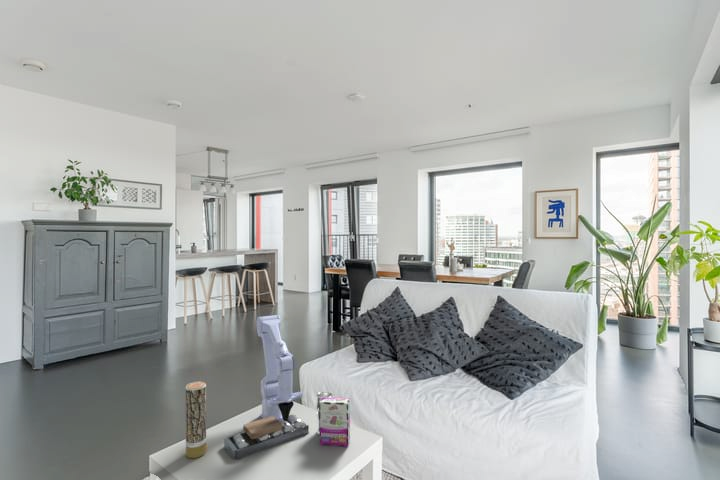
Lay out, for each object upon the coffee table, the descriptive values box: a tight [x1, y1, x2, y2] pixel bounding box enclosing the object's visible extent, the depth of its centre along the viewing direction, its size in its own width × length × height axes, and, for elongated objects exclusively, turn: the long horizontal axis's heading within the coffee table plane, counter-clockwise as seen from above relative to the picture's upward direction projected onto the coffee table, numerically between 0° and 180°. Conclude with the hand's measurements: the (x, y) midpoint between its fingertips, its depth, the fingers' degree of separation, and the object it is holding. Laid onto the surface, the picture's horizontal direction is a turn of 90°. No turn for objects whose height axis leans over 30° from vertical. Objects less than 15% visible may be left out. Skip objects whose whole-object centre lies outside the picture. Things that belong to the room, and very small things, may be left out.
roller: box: [232, 433, 250, 449], centre depth 138 cm, size 8×4×4 cm
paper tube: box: [185, 381, 207, 459], centre depth 135 cm, size 7×7×25 cm
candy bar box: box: [319, 397, 351, 447], centre depth 143 cm, size 11×5×16 cm, turn 83°
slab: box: [243, 416, 282, 440], centre depth 144 cm, size 9×12×2 cm
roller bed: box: [223, 413, 310, 460], centre depth 145 cm, size 11×30×4 cm, turn 128°
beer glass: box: [315, 391, 334, 436], centre depth 150 cm, size 7×7×15 cm
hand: (285, 419), depth 149 cm, fingers closed
